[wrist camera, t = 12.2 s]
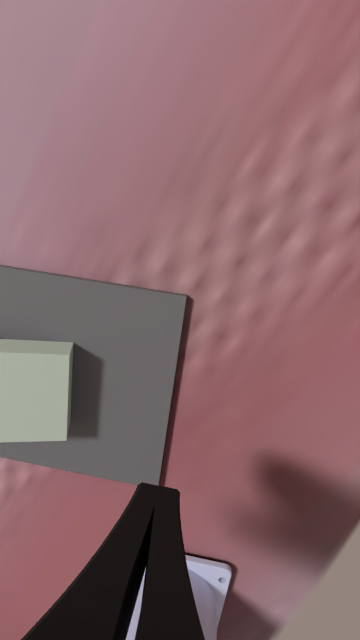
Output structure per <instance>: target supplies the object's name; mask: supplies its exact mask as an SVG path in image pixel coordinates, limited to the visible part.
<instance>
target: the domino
mask: <svg viewBox="0 0 360 640" xmlns="http://www.w3.org/2000/svg"><path fill="white" fill-rule="evenodd" d="M72 366H73V342H55V341H34V340H14V339H0V443H1V442H38V441H66V440H67V435H68V431H69V426H70V416H71V391H72Z"/></svg>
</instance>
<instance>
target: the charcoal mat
mask: <svg viewBox="0 0 360 640" xmlns="http://www.w3.org/2000/svg"><path fill="white" fill-rule="evenodd" d="M186 300H187V295H184V294H178V293H172V292H165V291H159V290H153V289H147V288H140V287H134V286H128V285H122V284H116V283H109V282H103V281H97V280H91V279H84V278H78V277H72V276H66V275H60V274H53V273H47V272H41V271H35V270H28V269H22V268H16V267H10V266H4V265H0V339H14V340H34V341H55V342H73V366H72V391H71V416H70V426H69V431H68V435H67V440H66V441H38V442H1V443H0V457H2V458H7V459H12V460H17V461H22V462H27V463H32V464H37V465H42V466H46V467H51V468H56V469H61V470H66V471H71V472H76V473H81V474H85V475H90V476H95V477H100V478H105V479H110V480H115V481H120V482H125V483H129V484H134V485H138V484H140V483H142V482H143V483H148V484H153V485H158V486H159V480H160V474H161V467H162V460H163V454H164V447H165V440H166V434H167V427H168V420H169V414H170V407H171V400H172V393H173V387H174V380H175V373H176V367H177V360H178V353H179V347H180V340H181V333H182V327H183V320H184V313H185V307H186Z"/></svg>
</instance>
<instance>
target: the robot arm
mask: <svg viewBox="0 0 360 640" xmlns="http://www.w3.org/2000/svg"><path fill="white" fill-rule="evenodd" d="M230 579H231V567H230V566H229V565H227V564H225V563H221V562H216V561H211V560H207V559H202V558H198V557H193V556H188V555H185V550H184V544H183V537H182V530H181V520H180V492H179V491H178V490H177V489H173V488H168V487H163V486H158V485H153V484H148V483H143V482H142V483H140V484H138V486H137V489H136V491H135V493H134V495H133V497H132V498H131V500H130V502H129V504H128V505H127V507H126V509H125V510H124V512H123V514H122V515H121V517H120V518H119V520H118V521H117V523H116V524H115V526H114V527H113V529H112V530H111V532H110V533H109V535H108V536H107V538H106V539H105V541H104V542H103V543H102V545H101V546H100V547H99V549H98V550H97V551H96V553H95V554H94V555H93V557H92V558H91V559H90V561H89V562H88V563H87V565H86V566H85V567H84V569H83V570H82V571H81V572H80V574H79V575H78V576H77V577H76V579H75V580H74V581H73V582H72V583H71V585H70V586H69V587H68V588H67V589H66V591H65V592H64V593H63V594H62V595H61V596H60V598H59V599H58V600H57V601H56V602H55V603H54V604H53V606H52V607H51V608H50V609H49V610H48V611H47V612H46V613H45V614H44V615H43V617H42V618H41V619H40V620H39V621H38V622H37V623H36V624H35V625H34V626H33V627H32V629H31V630H30V631H29V632H28V633H27V634H26V635H25V636H24V637H23V638H22V639H21V640H217V628H218V624H219V620H220V617H221V613H222V609H223V606H224V602H225V598H226V594H227V591H228V587H229V583H230Z"/></svg>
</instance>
